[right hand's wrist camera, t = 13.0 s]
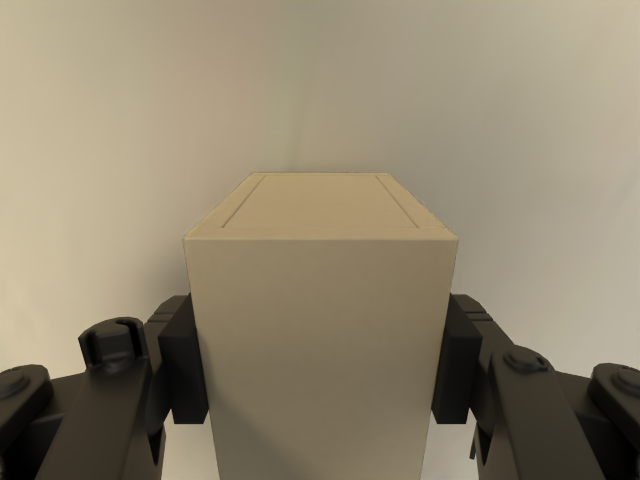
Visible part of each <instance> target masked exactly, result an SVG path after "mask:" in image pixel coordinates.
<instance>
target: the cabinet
mask: <svg viewBox="0 0 640 480" xmlns="http://www.w3.org/2000/svg"><path fill="white" fill-rule="evenodd" d="M183 245H184V252H185V258H186V265H187V271H188V277H189V284H190V290H191V297H192V303H193V310H194V316H195V323H196V329H197V335H198V342H199V348H200V355H201V361H202V368H203V374H204V380H205V387H206V393H207V400H208V406H209V413H210V419H211V425H212V432H213V438H214V445H215V451H216V458H217V464H218V470H219V477H220V480H420V477H421V470H422V464H423V458H424V452H425V445H426V439H427V433H428V427H429V420H430V414H431V408H432V402H433V395H434V389H435V383H436V377H437V370H438V364H439V358H440V352H441V345H442V339H443V333H444V327H445V320H446V314H447V308H448V302H449V295H450V289H451V283H452V277H453V271H454V264H455V258H456V252H457V246H458V237H457V236H456V235H455V234H453V233H452V232H451V231H450V230H449V229H447V228H446V226H444V225H443V224H442V223H441V222H440V221H439V220H438V219H437V218H436V217H435V216H434V215H433V214H432V213H431V212H429V211H428V210H427V209H426V208H425V207H424V206H423V205H422V204H421V203H420V202H419V201H418V200H417V199H416V198H414V197H413V196H412V195H411V194H410V193H409V192H408V191H407V190H406V189H405V188H404V187H403V186H402V185H401V184H399V183H398V182H397V181H396V180H395V179H394V178H393V177H392V176H391V175H390V174H389V173H252V174H251V175H250V176H248V177H247V178H246V179H245V180H244V181H243V182H242V183H241V184H240V185H239V186H238V187H237V188H236V189H235V190H233V191H232V192H231V193H230V194H229V195H228V196H227V197H226V198H225V199H224V200H223V201H222V202H221V203H220V204H218V205H217V206H216V207H215V208H214V209H213V210H212V211H211V212H210V213H209V214H208V215H207V216H206V217H204V218H203V219H202V220H201V221H200V222H199V223H198V224H197V225H196V226H195V227H194V228H193V229H191V230H190V231H189V232H188V233H187V234H186V235H185V236H184V237H183Z"/></svg>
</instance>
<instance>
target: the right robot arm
mask: <svg viewBox="0 0 640 480" xmlns="http://www.w3.org/2000/svg"><path fill="white" fill-rule="evenodd" d="M78 340H79V344H80V347H81V351H82V354H83V358H84V361H85V364H86V370H85V372H84V373H80V374H75V375H71V376H66V377H61V378H56V379H52V380H51V379H50V376H49V373H48V370H47V369H46V368H45V367H43V366H42V365H34V364H31V365H24V366H18V367H14V368H12V369H8V370H5V371H3V372H1V373H0V480H161V475H162V467H163V458H164V450H165V441H166V433H165V427H164V421H165V419H166V417H167V415H168V413H169V411H170V409H172V414H173V419H174V424H203V423H204V421H205V418H206V415H207V413H208V410H209V406H208V400H207V393H206V387H205V380H204V374H203V368H202V361H201V355H200V348H199V342H198V335H197V329H196V323H195V316H194V310H193V303H192V297H191V292H190V293H189V295H188V296H173V297H172V298H170V299H168V300H167V301H165V302H164V303H162V304H161V305H160V306H159V308H158V309H157V310H156V311H155V312H154V315H152V316H151V317H150V318H149V319H148V320H147V323H145V324H144V325H143V323H142V321H140V320H139V319H138V318H133V317H118V318H113V319H109V320H105V321H103V322H100V323H98V324H95V325H93V326H92V327H90V328H89V329H87V330H85V331H84V332H83V333H82V334H81V335H80V336H79V337H78ZM469 407H470V409H471V411H472V413H473V415H474V417H475V419H476V420H477V422H476V427H475V432H474V437H473V441H472V446H471V451H470V459H474V458H475V453H476V457H477V466H478V474H479V480H640V371H639V370H637V369H634V368H632V367H631V368H630V367H629V366H625V365H619V364H613V363H603V364H598V365H597V366H595V367H594V369H593V372H592V375H591V377H590V378H586V377H582V376H577V375H572V374H567V373H562V372H558V371H555V370H554V368H553V366H552V365H551V364H550V362H549V361H548V360H547V359H546V358H544V357H543V356H541V355H540V354H539V353H537V352H535V351H532V350H530V349H528V348H525V347H521V346H518V345H515V344H514V343H513V342H512V341H511V340H510V339H509V337H508V336H507V335H506V334H505V333H504V331H503V330H502V329H501V328H500V327H499V326H498V324H497V323H496V322H495V321H493V319H492V317H491V316H490V315H489V314H487V312H486V310H485V309H484V308H483V307H482V306H481V305H480V303H479V302H477V301H476V300H474V299H472V298H471V297H469V296H467V295H452V294H451V293H450V295H449V302H448V308H447V314H446V320H445V327H444V333H443V339H442V345H441V352H440V358H439V364H438V370H437V377H436V383H435V389H434V395H433V402H432V408H431V409H432V412H433V414H434V417H435V420H436V422H437V424H466V421H467V416H468V411H469Z"/></svg>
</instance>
